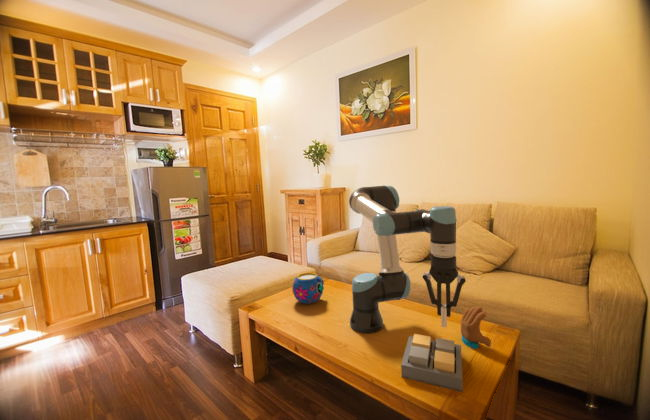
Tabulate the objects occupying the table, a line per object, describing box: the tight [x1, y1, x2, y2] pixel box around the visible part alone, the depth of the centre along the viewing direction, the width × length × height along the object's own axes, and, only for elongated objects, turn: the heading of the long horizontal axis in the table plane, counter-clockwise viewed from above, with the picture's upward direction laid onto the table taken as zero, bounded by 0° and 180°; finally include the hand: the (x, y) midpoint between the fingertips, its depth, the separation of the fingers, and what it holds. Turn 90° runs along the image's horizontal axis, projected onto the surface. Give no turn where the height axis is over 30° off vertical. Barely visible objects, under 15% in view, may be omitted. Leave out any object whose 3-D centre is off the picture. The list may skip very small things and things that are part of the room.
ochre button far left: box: [412, 333, 432, 353], centre depth 102 cm, size 6×6×4 cm
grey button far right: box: [435, 337, 455, 354], centre depth 99 cm, size 6×6×4 cm
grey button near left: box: [409, 345, 429, 367], centre depth 95 cm, size 6×6×4 cm
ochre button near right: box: [434, 350, 454, 373], centre depth 92 cm, size 6×6×4 cm
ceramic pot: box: [291, 272, 325, 304], centre depth 156 cm, size 18×18×15 cm
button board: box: [400, 335, 464, 393], centre depth 97 cm, size 18×18×4 cm
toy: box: [460, 306, 492, 350], centre depth 108 cm, size 12×7×15 cm, turn 5°
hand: (444, 324), depth 90 cm, fingers closed
